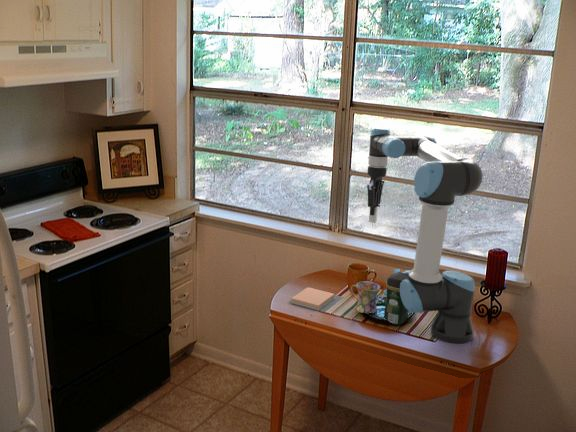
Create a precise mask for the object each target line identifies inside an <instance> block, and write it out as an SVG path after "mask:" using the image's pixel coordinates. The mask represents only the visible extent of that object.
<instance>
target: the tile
mask: <svg viewBox="0 0 576 432" xmlns="http://www.w3.org/2000/svg"><path fill="white" fill-rule="evenodd" d="M334 295H335V293H333V292H329V291H325V290H321V289H316V288H313V287H310V286H307V287H306V288H304V289H303V290H301V291H300V292H299V293H297V294H296V295H294V296H292V297H291V300H290V301H291V303H294V304H293V305H295V304H297V305H296V306H298V305H301V306H300V307H302V306H305V307H304V308H306V307H308V308H307V309H310V308H312V309H311V310H313V309H316V310H315V311H317V310H319V309H321V308H322V307H323V306H325V305H326V304H327V303H329V302H330V301H331V300H333V299H334ZM291 303H290V304H291Z"/></svg>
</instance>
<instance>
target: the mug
mask: <svg viewBox="0 0 576 432" xmlns="http://www.w3.org/2000/svg"><path fill="white" fill-rule="evenodd" d="M353 287H355V288H356V289H357V293H358V296H356V294H355V293H354V291H353ZM380 289H381V286H380V285H379V284H378V283H377V282H373V281H368V280H367V281H365V280H364V281H359V282H357V283H356V284H353V285H351V286H350V292H351V294H352V295H353V297H354V298H355V299H356V302H357V304H356V305H355V311H357V312H359V313H362V314H363V312H375V313H377V312H376V311H378V308H377V304H376V301H377V297H378V296H377V295H378V293H379V291H380Z"/></svg>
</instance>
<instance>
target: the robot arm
mask: <svg viewBox="0 0 576 432" xmlns="http://www.w3.org/2000/svg"><path fill="white" fill-rule="evenodd" d="M368 152H369V153H368V154H369V155H368V157H367V159H368V165H367V172H366V173H367V176H370V180H369V184H367V185H366V186H367V207H369V214H368V215H369V216H368V222H369V223H372V224H373V223H374V224H377V218H378V208H380V207H381V199H382V195H383V189H384V188H383V187H384V184H385V180H383V178H384V177H386V176H387V169H388V168H387V166H388V159H389V158H391V159H398V158H400V157H418V158H420V159H421V160H423V161H424V163H422V164H421V165H420V166H418V168H417V170H416V172H415V175H414V178H413V187H414V192H415V194H416V196H418V201H419V202H420V203H421V205H422V207H421V214H420V221H419V227H418V233H417V243H416V250H415V255H414V256H415V257H414V263H413V268H412V269H410V271H409V274H408V279H405V280H403V281H402V282H401V284H400V296H401V300H402V302H403V305H404V306H405V308H406V309H407V310H408V312H410V313H425V312H435V311H436V312H437V313H436V315H435V317H434V318H433V320H432V323H431V325H430V333H431V335H432V336H433V337H435V338H436V339H438V340H440V341H444V342H446V343H451V344H465V343H469V342H471V341H472V340H473V339H474V328H473V321H472V311H473V310H472V308H473V301H474V294H475V291H476V290H475V288H476V287H475V286H476V282H475V280H474V278H473V277H471V276H470V275H468V274H466V273H463V272H460V271H457V270H444V271H442V274H441V273H440V266H441V261H442V260H441V259H442V251H443V246H444V239H445V233H446V225H447V221H448V220H447V218H448V213H449V208H450V207H452V206H453V205H455V199H456V197H461V196H468V195H472V194H473V193H475V192H476V191H477V190H478V189H479V188H480V186H481V185H482V182H483V177H484V176H483V169H482V168H481V166H479V164H478V163H477V162H475V161H474V160H472V159H470V158H467V157H460V156H459V155H457V154H454V153H452V152H451V151H450V150H448V149H445V148H444V147H442V146H440V145H438V144H437V141H436V139H435V138H434V137H433V136H425V135H423V136H392V135H391V130H390V128H388V127H384V126H374V127H372V128H371V131H370V136H369V151H368Z"/></svg>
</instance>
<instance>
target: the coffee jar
mask: <svg viewBox="0 0 576 432" xmlns="http://www.w3.org/2000/svg"><path fill="white" fill-rule="evenodd" d="M403 272H404V271H400V272H397V273H394V272H393V273H392V274H390V275H389V276H388V277H387V278H386V282H387V284H386V290H387V292H386V293H387V295H386V296H385V297H386V298H385V304H384V310H383V311H384V312H383V319H384V318H385V319H386V320H388V321H389V322H390V323H392V324H391V325H397V326H399V325H402V324H404V323H405V322H406V321H407V319H408V314H409V311H408V310H407V309H406V308H405V306H404V305H403V302H402V300H401V296H400V284H401V282H402V281H403V280H405V279H408V274H407V273H403ZM390 323H389V324H390Z"/></svg>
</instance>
